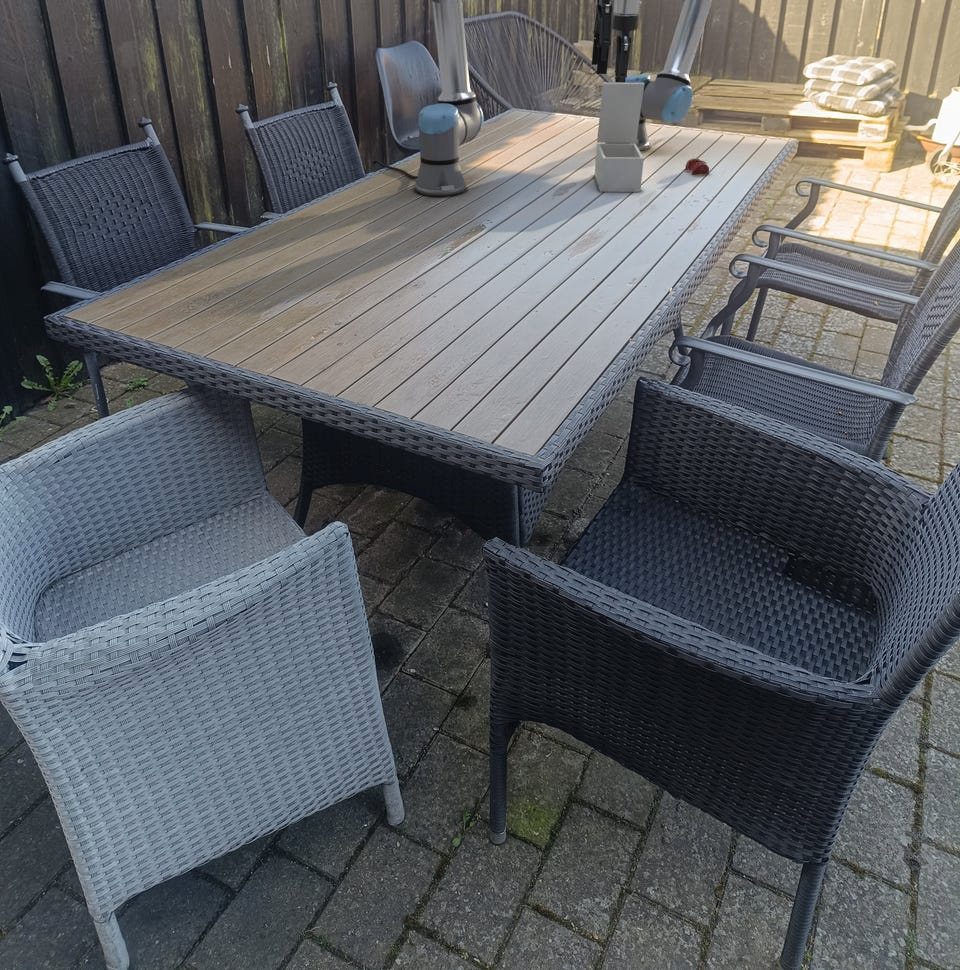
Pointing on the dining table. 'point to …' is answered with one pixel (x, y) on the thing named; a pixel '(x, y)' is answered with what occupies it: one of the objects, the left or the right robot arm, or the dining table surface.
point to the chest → (618, 167)
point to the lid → (620, 112)
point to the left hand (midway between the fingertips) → (598, 69)
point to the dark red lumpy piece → (697, 166)
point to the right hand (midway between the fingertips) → (618, 100)
